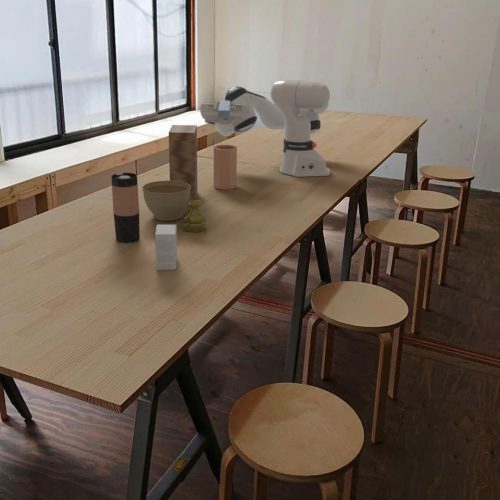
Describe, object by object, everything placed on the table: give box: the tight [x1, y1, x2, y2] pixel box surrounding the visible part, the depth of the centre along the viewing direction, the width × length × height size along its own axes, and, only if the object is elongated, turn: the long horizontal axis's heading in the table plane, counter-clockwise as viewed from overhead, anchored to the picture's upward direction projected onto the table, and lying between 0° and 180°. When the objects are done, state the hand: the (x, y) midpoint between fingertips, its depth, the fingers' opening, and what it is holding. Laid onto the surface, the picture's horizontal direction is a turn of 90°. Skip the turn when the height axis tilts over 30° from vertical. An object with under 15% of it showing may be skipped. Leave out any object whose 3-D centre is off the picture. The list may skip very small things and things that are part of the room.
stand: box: [168, 124, 198, 200], centre depth 217 cm, size 9×14×26 cm, turn 1°
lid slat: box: [218, 100, 230, 118], centre depth 225 cm, size 24×4×2 cm, turn 1°
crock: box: [213, 144, 238, 191], centre depth 234 cm, size 9×9×16 cm
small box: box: [154, 224, 178, 271], centre depth 163 cm, size 8×6×10 cm
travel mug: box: [111, 172, 141, 244], centre depth 178 cm, size 8×8×20 cm
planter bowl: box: [141, 180, 191, 222], centre depth 199 cm, size 16×16×11 cm
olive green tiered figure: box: [182, 198, 207, 233], centre depth 190 cm, size 7×7×10 cm
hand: (225, 103), depth 234 cm, fingers closed on lid slat, 4 cm apart
